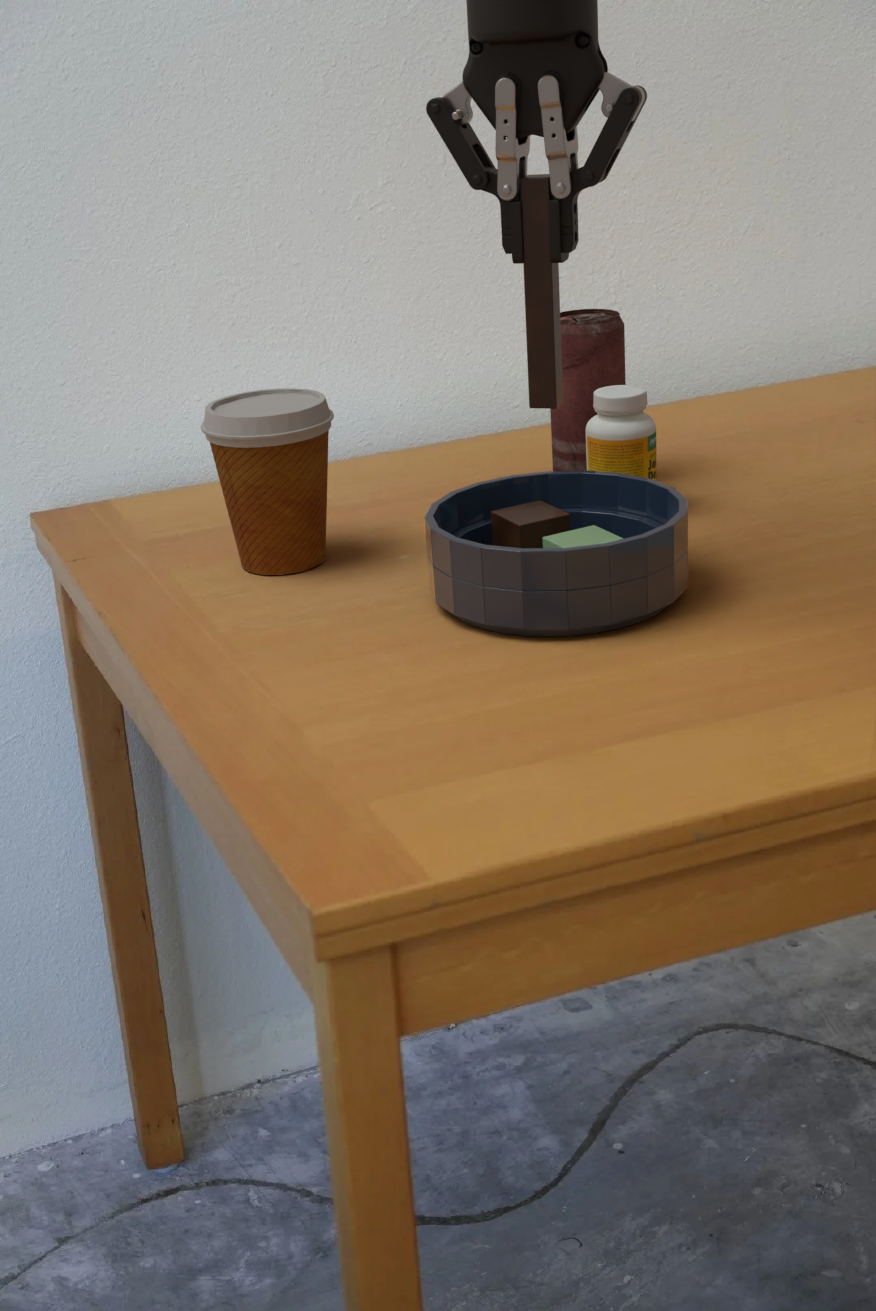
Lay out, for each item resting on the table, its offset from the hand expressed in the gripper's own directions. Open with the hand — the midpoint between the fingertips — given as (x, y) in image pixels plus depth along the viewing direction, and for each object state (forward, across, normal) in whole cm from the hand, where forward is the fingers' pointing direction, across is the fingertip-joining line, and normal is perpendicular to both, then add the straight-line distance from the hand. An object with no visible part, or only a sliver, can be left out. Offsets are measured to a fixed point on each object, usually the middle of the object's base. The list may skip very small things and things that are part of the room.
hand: (541, 260), depth 91 cm
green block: (+21, +3, -2) cm, 22 cm away
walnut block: (+21, -2, +3) cm, 22 cm away
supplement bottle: (+22, +1, +18) cm, 29 cm away
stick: (+9, 0, 0) cm, 9 cm away
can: (+22, -3, +26) cm, 34 cm away
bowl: (+22, 0, +1) cm, 22 cm away
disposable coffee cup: (+22, -22, +4) cm, 32 cm away
